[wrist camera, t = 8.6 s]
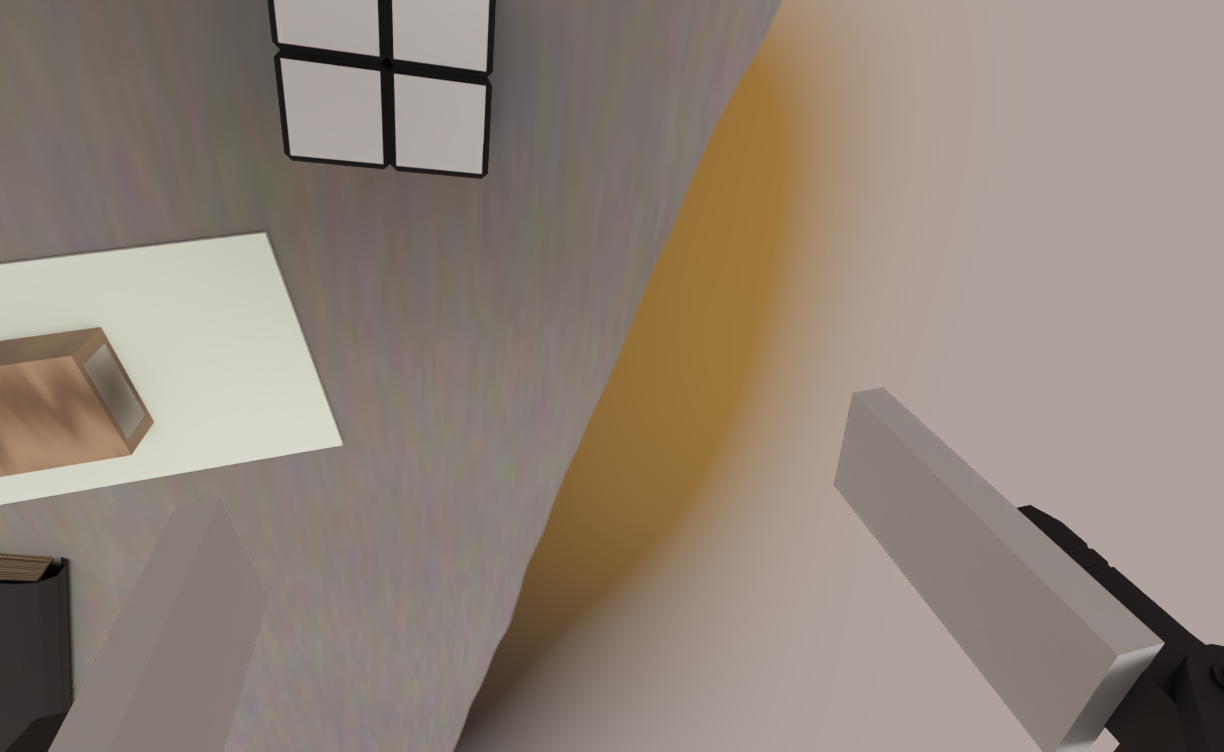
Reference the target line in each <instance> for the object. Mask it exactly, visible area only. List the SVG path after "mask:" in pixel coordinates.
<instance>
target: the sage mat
mask: <svg viewBox="0 0 1224 752" xmlns="http://www.w3.org/2000/svg"><path fill="white" fill-rule="evenodd" d="M98 327H101V328H102V330H103V332H104V333H105V335H106V337H107V339H108V340H109V342H110V344H111V346H112V348H113V349H114V351H115V353H116V355H117V357H118V358H119V360H120V362H121V364H122V365H123V367H124V369H125V371H126V373H127V374H128V376H129V378H130V380H131V382H132V383H133V385H134V387H135V389H136V390H137V392H138V394H139V396H140V398H141V399H142V401H143V403H144V405H145V407H146V408H147V410H148V412H149V414H150V415H151V417H152V419H153V421H154V423H153V424H152V426H151V427H150V429H149V430H148V432H147V433H146V435H145V436H144V438H143V439H142V441H141V442H140V443H139V445H138V446H137V448H136V449H135V451H134V452H133V454H132V455H129V456H124V457H118V458H112V459H106V460H100V461H94V462H88V463H82V464H76V465H70V466H64V467H58V468H52V469H46V470H40V471H34V472H28V473H22V474H16V475H10V476H4V477H0V505H1V504H7V503H13V502H18V501H24V500H30V499H36V498H41V497H47V496H53V495H59V494H64V493H70V492H76V491H82V490H87V489H93V488H99V487H105V486H110V485H116V484H122V483H128V482H133V481H139V480H145V479H151V478H156V477H162V476H168V475H174V474H179V473H185V472H191V471H197V470H202V469H208V468H214V467H220V466H225V465H231V464H237V463H243V462H248V461H254V460H260V459H266V458H271V457H277V456H283V455H289V454H294V453H300V452H306V451H312V450H317V449H323V448H329V447H335V446H341V445H343V443H344V442H343V439H342V436H341V434H340V431H339V428H338V425H337V423H336V420H335V417H334V414H333V412H332V409H331V406H330V403H329V401H328V398H327V395H326V392H325V390H324V387H323V384H322V381H321V379H320V376H319V373H318V371H317V368H316V365H315V362H314V360H313V357H312V354H311V351H310V349H309V346H308V343H307V340H306V338H305V335H304V332H303V329H302V327H301V324H300V321H299V318H298V316H297V313H296V310H295V307H294V305H293V302H292V299H291V296H290V294H289V291H288V288H287V286H286V283H285V280H284V277H283V275H282V272H281V269H280V266H279V264H278V261H277V258H276V255H275V253H274V250H273V247H272V244H271V242H270V239H269V236H268V233H267V231H262V232H253V233H245V234H237V235H228V236H220V237H211V238H203V239H195V240H186V241H178V242H170V243H161V244H153V245H144V246H136V247H128V248H119V249H111V250H103V251H94V252H86V253H77V254H69V255H61V256H52V257H44V258H36V259H27V260H19V261H10V262H2V263H0V341H3V340H10V339H17V338H25V337H32V336H39V335H47V334H54V333H61V332H68V331H76V330H83V329H90V328H98Z"/></svg>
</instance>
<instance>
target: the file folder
mask: <svg viewBox="0 0 1224 752" xmlns="http://www.w3.org/2000/svg"><path fill="white" fill-rule="evenodd" d="M51 562H52V558H51V557H42V556H31V555H17V554H1V553H0V752H5V751H6V750H7V749H8V748H9V746H10V745H11V744H12V743H13V742H14V741H15V740H16V739H17V738H18V737H19V736H20V735H21V734H22V733H23V732H24V730H25V729H26V728H27V727H28V726H29V725H30V724H31V723H32V722H33V721H34V720H35V719H37V718H41V717H46V716H51V715H55V714H60V713H65V712H69V710H70V708H71V693H70V663H69V633H68V603H67V573H66V563H65V561H64V559H63V558H62V557H61V569H62V570H61V571H60V572H59V573H58V575H57V576H54V577H51V578H48V579H46V569H47V567H48V565H50V563H51Z"/></svg>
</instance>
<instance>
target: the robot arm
mask: <svg viewBox="0 0 1224 752" xmlns="http://www.w3.org/2000/svg"><path fill="white" fill-rule="evenodd" d="M834 486H835V487H836V488H837V490H838V491H839V492H840V493H841V495H842V496H843V497H844V499H845V500H846V501H847V502H848V503H849V505H850V506H851V508H852V509H853V510H854V511H855V513H856V514H857V515H858V516H859V518H860V519H861V520H862V522H863V523H864V524H865V525H866V527H867V528H868V529H869V530H870V532H871V533H872V534H873V535H874V537H875V538H876V539H877V541H878V542H879V543H880V544H881V546H882V547H883V548H884V550H885V551H886V552H887V553H888V555H889V556H890V557H891V559H892V560H893V561H894V562H895V564H896V565H897V566H898V567H899V569H900V570H901V571H902V573H903V574H904V575H905V576H906V578H907V579H908V580H909V581H910V583H911V584H912V585H913V587H914V588H915V589H916V590H917V592H918V593H919V594H920V595H921V597H922V598H923V599H924V601H925V602H926V603H927V605H928V606H929V607H930V608H931V610H932V611H933V612H934V613H935V615H936V616H937V617H938V618H939V620H940V621H941V622H942V624H943V625H944V626H945V627H946V629H947V630H948V631H949V633H950V634H951V635H952V636H953V638H954V639H955V640H956V642H957V643H958V644H959V645H960V647H961V648H962V649H963V650H964V652H965V653H966V654H967V655H968V657H969V658H970V659H971V661H972V662H973V663H974V664H975V666H976V667H977V668H978V669H979V671H980V672H981V673H982V675H983V676H984V677H985V678H986V680H987V681H988V682H989V684H990V685H991V686H992V687H993V688H994V690H995V691H996V693H997V694H998V695H999V696H1000V698H1001V699H1002V700H1003V702H1004V703H1005V704H1006V705H1007V706H1008V708H1009V709H1010V710H1011V712H1012V713H1013V714H1014V716H1015V717H1016V718H1017V719H1018V721H1019V722H1020V723H1021V724H1022V726H1023V727H1024V728H1025V729H1026V731H1027V732H1028V733H1029V735H1030V736H1031V737H1032V739H1033V740H1034V741H1035V742H1036V744H1037V745H1038V746H1039V747H1040V748H1041V750H1042V751H1043V752H1078V751H1081V750H1085V749H1089V748H1090V747H1091V746H1092V745H1093V743H1094V742H1095V740H1096V739H1097V738H1098V736H1099V735H1100V733H1101V732H1102V731H1103V729H1104V728H1105V727H1106V728H1107V729H1108V731H1109V732H1110V733H1111V734H1112V735H1113V736H1114V737H1115V738H1116V739H1117V740H1118V742H1119V743H1120V744H1119V745H1118V747H1117V748H1116V749H1115V751H1114V752H1224V646H1220V645H1215V644H1209V645H1205V644H1204V643H1203V642H1201V641H1200V640H1199V639H1197V638H1196V637H1195V636H1193V635H1192V634H1191V633H1189V632H1188V631H1187V630H1186V629H1185V628H1184V627H1182V626H1181V625H1180V624H1179V623H1178V622H1177V621H1176V620H1175V619H1173V618H1172V617H1171V616H1170V615H1169V614H1168V613H1166V612H1165V611H1164V610H1163V609H1162V608H1161V607H1159V606H1158V605H1157V604H1156V603H1155V602H1154V601H1152V600H1151V599H1150V598H1149V597H1148V596H1147V595H1146V594H1144V593H1143V592H1142V591H1141V590H1140V589H1139V588H1137V587H1136V586H1135V585H1134V584H1133V583H1132V582H1131V581H1129V580H1128V579H1127V578H1126V577H1125V576H1124V575H1122V574H1121V573H1120V572H1119V571H1118V570H1117V569H1115V568H1114V567H1110V566H1109V565H1108V562H1107V561H1106V560H1105V559H1104V558H1103V557H1102V556H1100V555H1099V554H1098V553H1097V552H1096V551H1095V550H1093V549H1089V548H1088V547H1087V544H1086V543H1085V542H1084V541H1083V540H1082V539H1081V538H1080V537H1078V536H1077V535H1076V534H1075V533H1073V532H1072V531H1071V530H1070V529H1069V528H1068V527H1067V526H1066V525H1064V524H1063V523H1062V522H1061V521H1059V520H1057V519H1055V518H1053V517H1051V516H1050V515H1048V514H1046V513H1044V512H1042V511H1040V510H1039V509H1037V508H1035V507H1033V506H1031V505H1028V506H1023V507H1019V508H1016V507H1015V506H1013V505H1012V504H1011V503H1010V502H1009V501H1008V500H1007V499H1006V498H1005V497H1003V496H1002V495H1001V494H1000V493H999V492H998V491H997V490H996V489H995V488H994V487H993V486H991V485H990V484H989V483H988V482H987V481H986V480H985V479H984V478H982V477H981V476H980V475H979V474H978V473H977V472H976V471H975V470H974V469H973V468H972V467H970V466H969V465H968V464H967V463H966V462H965V461H964V460H963V459H961V457H959V456H958V455H957V454H956V453H955V452H954V451H953V450H952V449H951V448H949V447H948V446H947V445H946V444H945V443H944V442H943V441H942V440H941V439H940V438H939V437H937V436H936V435H935V434H934V433H933V432H932V431H931V430H930V429H929V428H927V427H926V426H925V425H924V424H923V423H922V422H921V421H920V420H919V419H918V418H917V417H915V416H914V415H913V414H912V413H911V412H910V411H909V410H908V409H906V408H905V407H904V406H903V405H902V404H901V403H900V402H899V401H898V400H897V399H896V398H894V397H893V396H892V395H891V394H890V393H889V392H888V391H887V390H886V389H884V388H878V389H872V390H866V391H860V392H854V393H853V394H852V399H851V404H850V409H849V414H848V418H847V423H846V428H845V433H844V438H843V443H842V448H841V453H840V458H839V462H838V467H837V472H836V477H835V482H834ZM268 598H269V594H268V592H267V590H266V588H265V586H264V584H263V582H262V580H261V578H260V576H259V574H258V572H257V570H256V568H255V566H254V564H253V562H252V560H251V558H250V556H249V554H248V552H247V550H246V548H245V546H244V544H243V542H242V540H241V538H240V536H239V534H238V532H237V530H236V529H235V527H234V525H233V523H232V521H231V519H230V517H229V515H228V513H227V511H226V509H225V507H224V505H223V503H222V501H221V499H220V500H214V501H208V502H202V503H196V504H190V505H184V506H178V507H176V509H175V511H174V512H173V514H172V516H171V518H170V520H169V522H168V524H167V526H166V528H165V530H164V532H163V533H162V535H161V537H160V539H159V541H158V543H157V545H156V547H155V549H154V551H153V552H152V554H151V556H150V558H149V560H148V562H147V564H146V566H145V568H144V570H143V571H142V573H141V575H140V577H139V579H138V581H137V583H136V585H135V587H134V589H133V590H132V592H131V594H130V596H129V598H128V600H127V602H126V604H125V606H124V608H123V610H122V611H121V613H120V615H119V617H118V619H117V621H116V623H115V625H114V627H113V629H112V630H111V632H110V634H109V636H108V638H107V640H106V642H105V644H104V646H103V648H102V649H101V651H100V653H99V655H98V657H97V659H96V661H95V663H94V665H93V667H92V669H91V670H90V672H89V674H88V676H87V678H86V680H85V682H84V684H83V686H82V688H81V689H80V691H79V693H78V695H77V697H76V699H75V701H74V703H73V705H72V707H71V708H70V710H69V712H65V713H60V714H55V715H51V716H46V717H41V718H37V719H35V720H34V721H33V722H32V723H31V724H30V725H29V726H28V727H27V728H26V729H25V730H24V732H23V733H22V734H21V735H20V736H19V737H18V738H17V739H16V740H15V741H14V742H13V743H12V744H11V745H10V746H9V748H8V749H7V750H6V751H5V752H223V750H224V747H225V744H226V740H227V737H228V733H229V730H230V727H231V723H232V720H233V716H234V713H235V710H236V706H237V703H238V699H239V696H240V693H241V689H242V686H243V683H244V679H245V676H246V672H247V669H248V666H249V662H250V659H251V655H252V652H253V649H254V645H255V642H256V638H257V635H258V632H259V628H260V625H261V621H262V618H263V615H264V611H265V608H266V605H267V601H268Z"/></svg>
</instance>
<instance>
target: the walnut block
mask: <svg viewBox="0 0 1224 752" xmlns="http://www.w3.org/2000/svg"><path fill="white" fill-rule="evenodd" d="M153 423H154V421H153V419H152V417H151V415H150V414H149V412H148V410H147V408H146V407H145V405H144V403H143V401H142V399H141V398H140V396H139V394H138V392H137V390H136V389H135V387H134V385H133V383H132V382H131V380H130V378H129V376H128V374H127V373H126V371H125V369H124V367H123V365H122V364H121V362H120V360H119V358H118V357H117V355H116V353H115V351H114V349H113V348H112V346H111V344H110V342H109V340H108V339H107V337H106V335H105V333H104V332H103V330H102V328H101V327H98V328H90V329H83V330H76V331H68V332H61V333H54V334H47V335H39V336H32V337H25V338H17V339H10V340H3V341H0V477H4V476H10V475H16V474H22V473H28V472H34V471H40V470H46V469H52V468H58V467H64V466H70V465H76V464H82V463H88V462H94V461H100V460H106V459H112V458H118V457H124V456H129V455H132V454H133V452H134V451H135V449H136V448H137V446H138V445H139V443H140V442H141V441H142V439H143V438H144V436H145V435H146V433H147V432H148V430H149V429H150V427H151V426H152V424H153Z"/></svg>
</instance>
